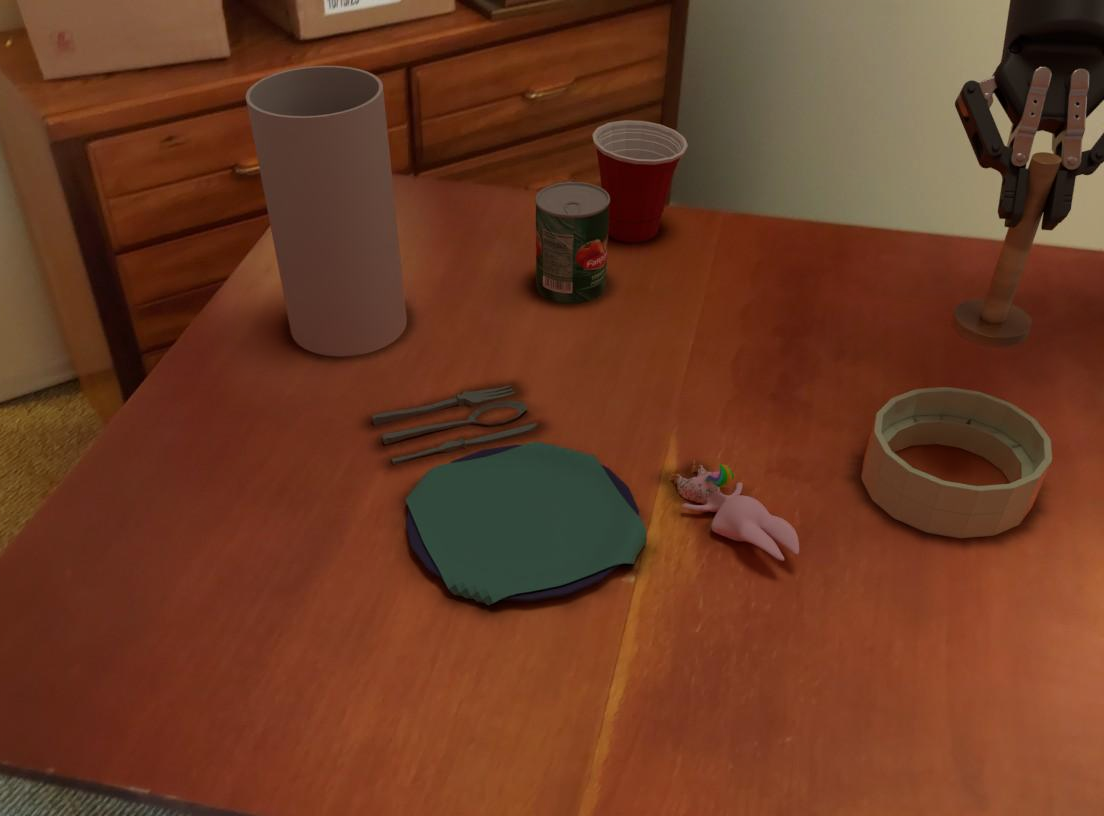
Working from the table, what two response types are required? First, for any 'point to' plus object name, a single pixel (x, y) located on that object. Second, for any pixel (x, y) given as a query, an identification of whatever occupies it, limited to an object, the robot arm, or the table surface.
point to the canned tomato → (571, 242)
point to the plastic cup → (637, 174)
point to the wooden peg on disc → (1009, 270)
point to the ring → (967, 426)
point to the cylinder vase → (331, 206)
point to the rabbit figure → (735, 511)
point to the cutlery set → (515, 512)
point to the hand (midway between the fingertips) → (1032, 224)
